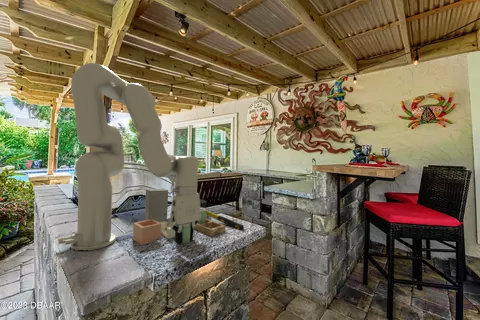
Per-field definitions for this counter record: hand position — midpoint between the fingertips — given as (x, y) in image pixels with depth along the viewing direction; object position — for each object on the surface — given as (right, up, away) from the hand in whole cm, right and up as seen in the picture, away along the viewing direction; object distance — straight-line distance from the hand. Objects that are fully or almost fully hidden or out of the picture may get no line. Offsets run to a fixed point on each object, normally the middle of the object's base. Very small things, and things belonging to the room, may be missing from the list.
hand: (184, 240), depth 73 cm
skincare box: (-18, 0, +18) cm, 25 cm away
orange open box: (-14, 0, +2) cm, 14 cm away
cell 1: (0, -1, 0) cm, 1 cm away
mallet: (+9, -1, +22) cm, 24 cm away
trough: (+6, -1, +14) cm, 15 cm away
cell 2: (+3, 0, +16) cm, 16 cm away
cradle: (-6, -1, +8) cm, 10 cm away
